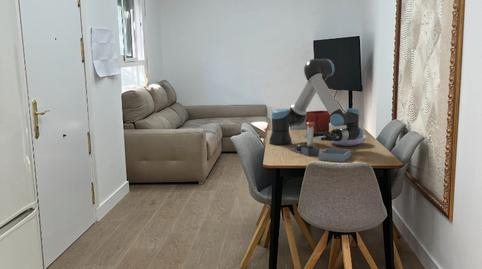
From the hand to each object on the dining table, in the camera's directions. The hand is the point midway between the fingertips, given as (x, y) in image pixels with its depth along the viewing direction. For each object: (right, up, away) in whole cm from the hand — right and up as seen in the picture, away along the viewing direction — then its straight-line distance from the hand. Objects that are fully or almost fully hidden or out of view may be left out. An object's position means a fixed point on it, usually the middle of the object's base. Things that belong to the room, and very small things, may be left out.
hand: (309, 137), depth 286 cm
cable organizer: (+30, -1, +58) cm, 66 cm away
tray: (+13, -12, -11) cm, 21 cm away
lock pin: (+1, -10, +2) cm, 10 cm away
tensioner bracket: (-2, -9, +8) cm, 12 cm away
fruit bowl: (+29, -5, +34) cm, 45 cm away
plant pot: (+20, +2, +81) cm, 84 cm away
